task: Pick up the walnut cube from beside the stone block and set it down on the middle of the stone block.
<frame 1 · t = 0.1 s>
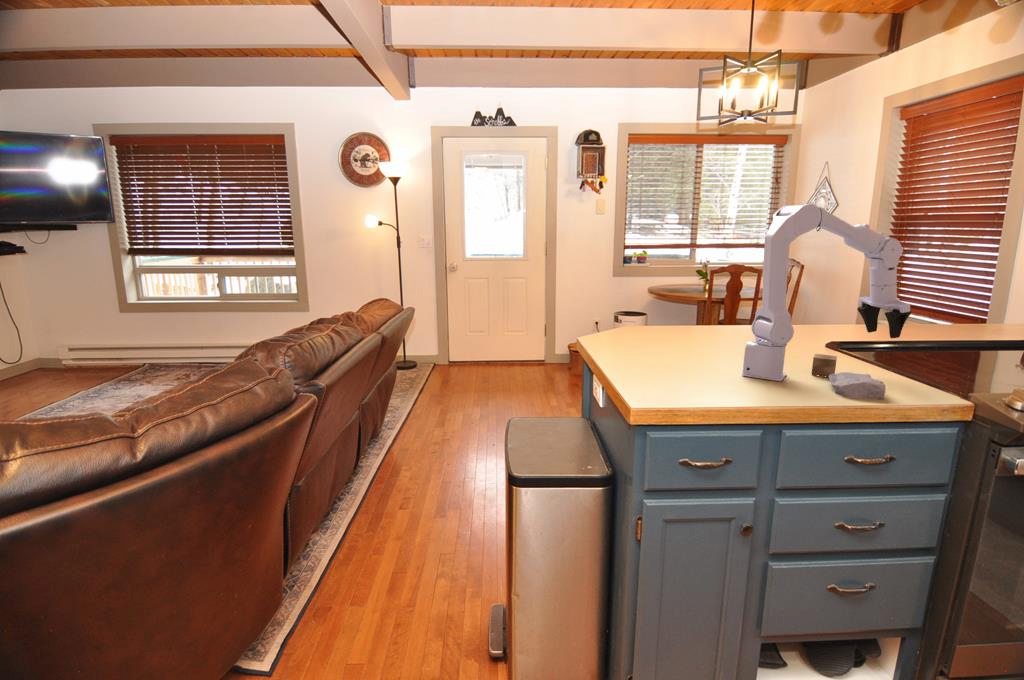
hand: (883, 334, 139), 11 cm above the worktop, tool pointing down, fingers open, 7 cm apart
walnut cube: (823, 374, 140), on the worktop
stone block: (851, 392, 127), on the worktop
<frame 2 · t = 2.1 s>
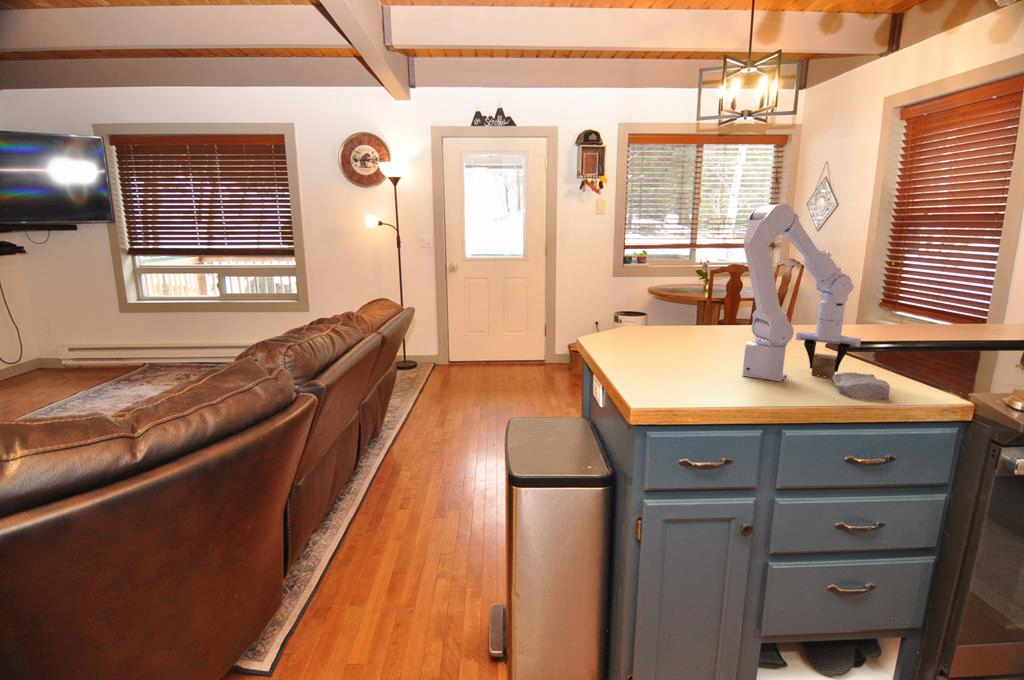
hand: (823, 369, 140), 1 cm above the worktop, tool pointing down, fingers closed on walnut cube, 5 cm apart
walnut cube: (823, 374, 140), on the worktop, touching gripper
when the fingers open (6 cm above the worktop, at t = 5.6 s): walnut cube stays where it is, point 4 cm above the worktop.
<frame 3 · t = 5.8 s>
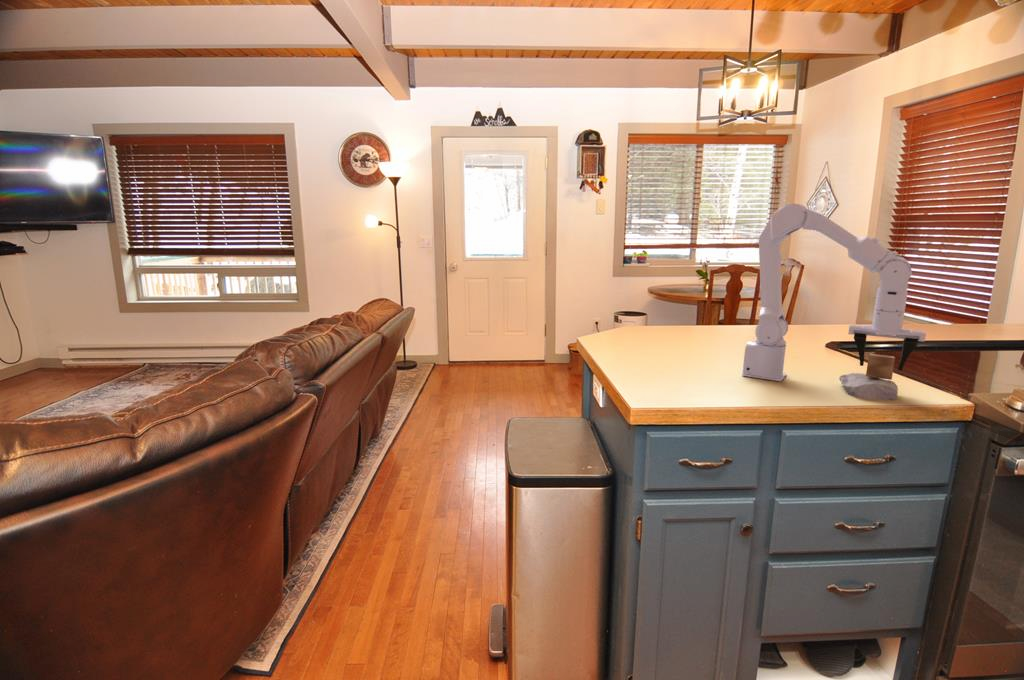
hand: (880, 367, 124), 6 cm above the worktop, tool pointing down, fingers open, 7 cm apart
walnut cube: (878, 376, 125), point 4 cm above the worktop, tilted 7°
stone block: (863, 393, 126), on the worktop
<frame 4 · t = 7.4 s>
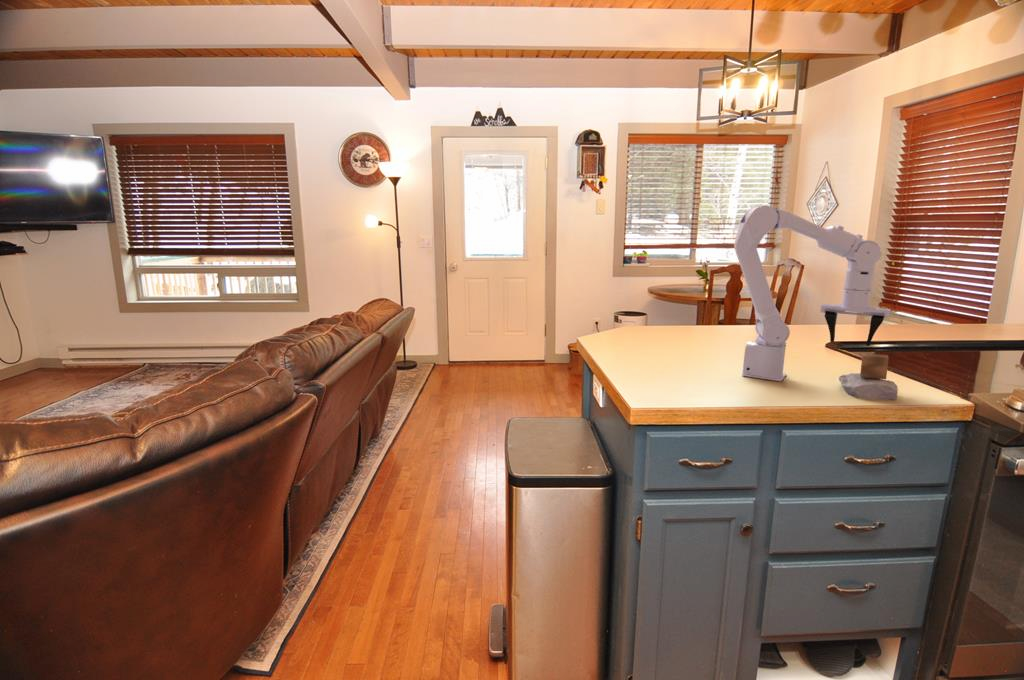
hand: (849, 343, 133), 10 cm above the worktop, tool pointing down, fingers open, 7 cm apart
walnut cube: (872, 376, 125), point 4 cm above the worktop, tilted 5°, touching stone block
stone block: (863, 393, 126), on the worktop, touching walnut cube
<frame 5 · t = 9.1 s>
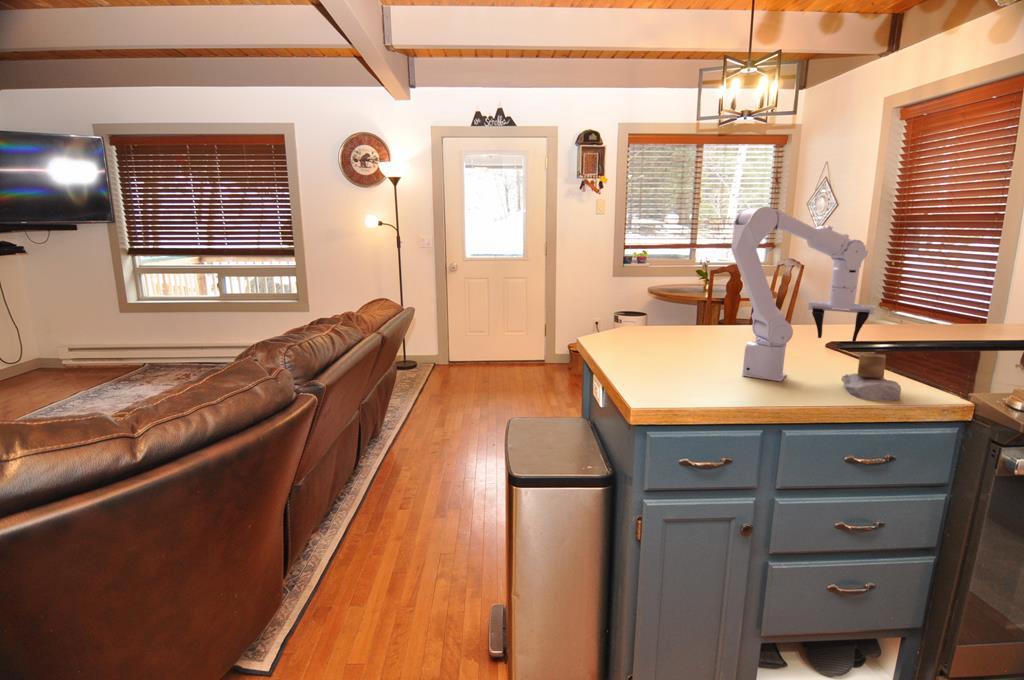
hand: (836, 339, 137), 10 cm above the worktop, tool pointing down, fingers open, 7 cm apart
at the end: walnut cube 1.2 cm off-centre on the stone block, point 4.4 cm above the stone block's base; walnut cube tilted 6°; the gripper is holding nothing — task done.
